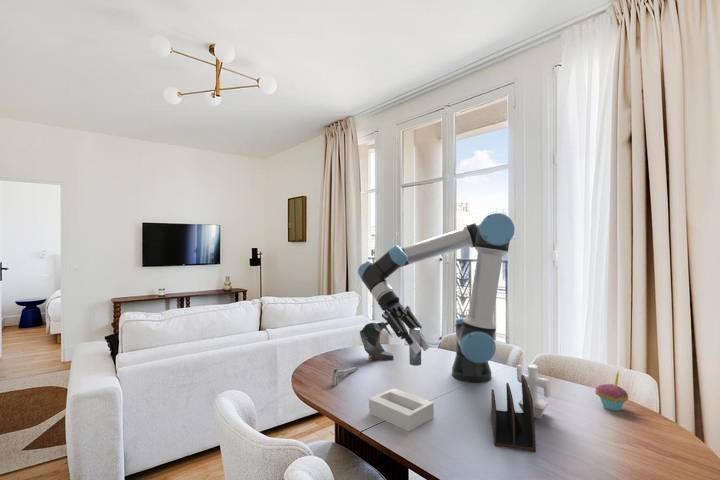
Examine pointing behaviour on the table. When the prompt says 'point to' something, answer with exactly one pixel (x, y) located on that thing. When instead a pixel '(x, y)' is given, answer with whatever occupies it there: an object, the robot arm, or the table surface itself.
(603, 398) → the cupcake
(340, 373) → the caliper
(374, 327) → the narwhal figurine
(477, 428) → the table surface
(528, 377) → the figurine
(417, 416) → the block
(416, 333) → the pin
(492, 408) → the letter holder
